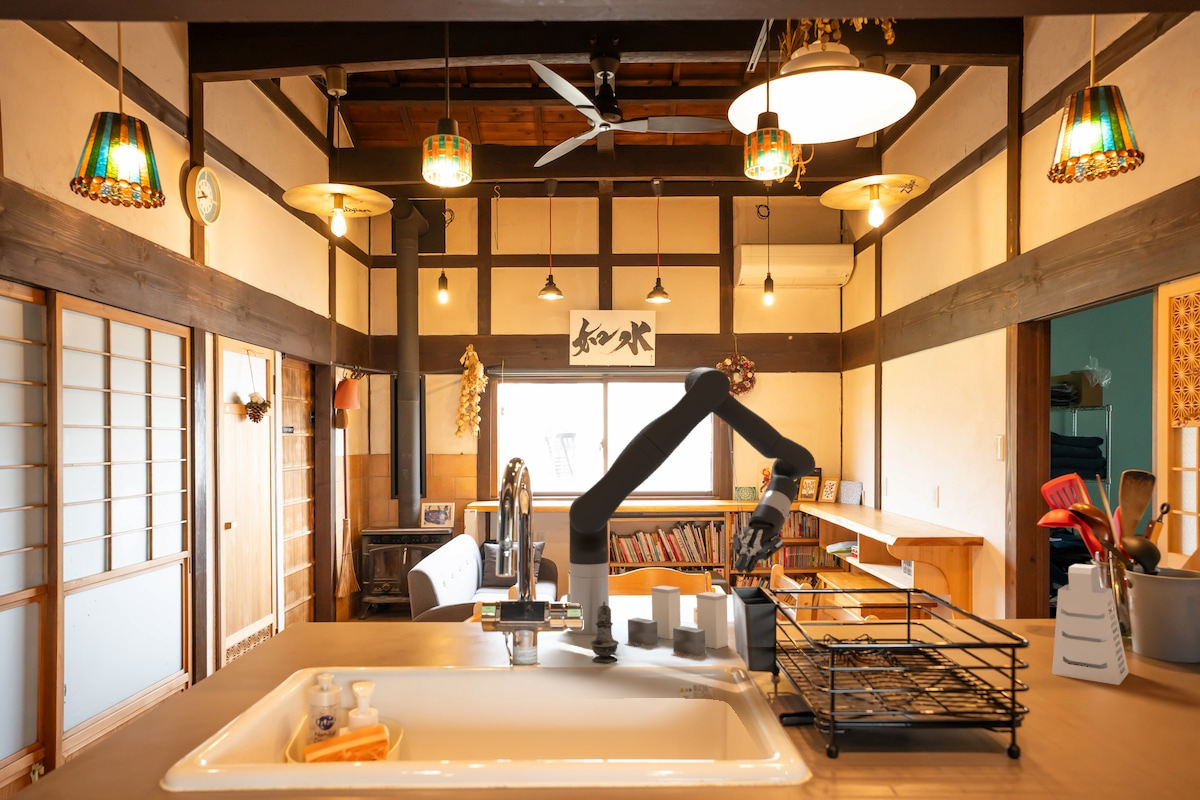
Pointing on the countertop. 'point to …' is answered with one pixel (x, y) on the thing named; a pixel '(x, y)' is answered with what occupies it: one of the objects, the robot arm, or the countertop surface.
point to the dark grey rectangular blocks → (683, 637)
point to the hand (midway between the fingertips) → (742, 570)
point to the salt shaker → (604, 638)
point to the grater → (1088, 630)
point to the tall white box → (713, 618)
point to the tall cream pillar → (666, 609)
